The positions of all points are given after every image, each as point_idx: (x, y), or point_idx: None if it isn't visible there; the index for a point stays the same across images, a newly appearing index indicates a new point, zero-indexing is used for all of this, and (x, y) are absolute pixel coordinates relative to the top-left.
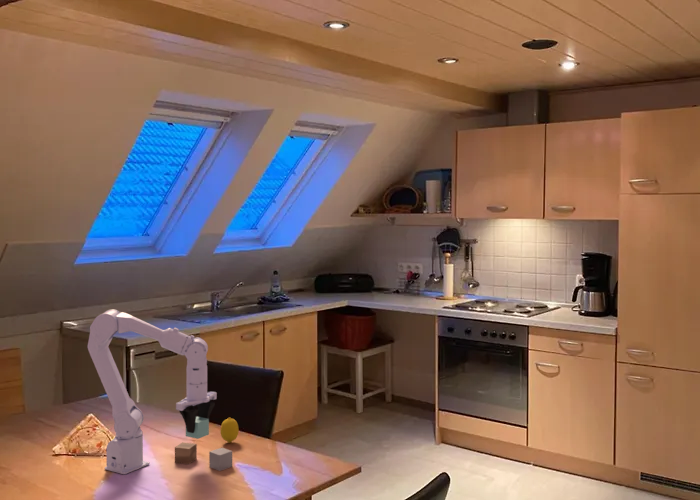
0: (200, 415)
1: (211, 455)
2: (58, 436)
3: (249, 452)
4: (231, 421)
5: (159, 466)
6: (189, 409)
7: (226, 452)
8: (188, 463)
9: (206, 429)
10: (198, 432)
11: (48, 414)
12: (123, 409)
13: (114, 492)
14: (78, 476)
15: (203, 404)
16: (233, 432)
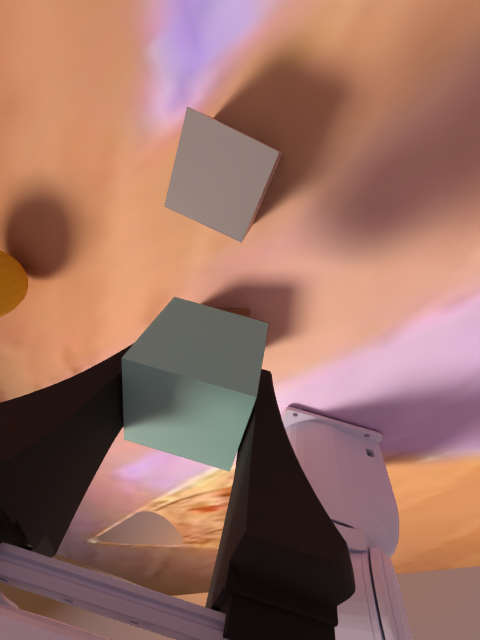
0: (113, 428)
1: (250, 223)
2: (201, 553)
3: (35, 132)
4: None
5: (294, 379)
6: (304, 604)
7: (222, 133)
8: (248, 312)
9: (181, 321)
10: (258, 344)
11: (130, 571)
12: None
13: None
14: (399, 500)
15: (34, 515)
16: None
